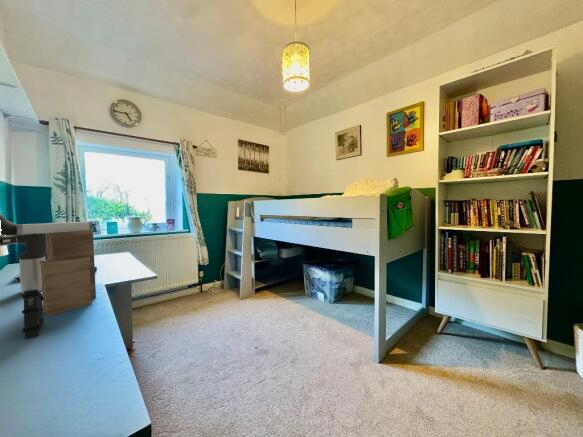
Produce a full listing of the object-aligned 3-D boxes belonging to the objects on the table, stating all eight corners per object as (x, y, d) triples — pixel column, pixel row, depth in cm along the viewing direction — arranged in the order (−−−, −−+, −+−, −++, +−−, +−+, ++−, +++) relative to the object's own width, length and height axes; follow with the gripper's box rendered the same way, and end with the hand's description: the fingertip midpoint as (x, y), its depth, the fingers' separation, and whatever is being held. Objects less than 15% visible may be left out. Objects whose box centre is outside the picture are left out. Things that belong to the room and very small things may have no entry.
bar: (16, 234, 100) (16, 224, 100) (90, 229, 119) (89, 221, 119) (18, 234, 97) (17, 224, 97) (92, 230, 117) (92, 221, 117)
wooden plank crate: (35, 304, 108) (31, 232, 106) (88, 292, 122) (85, 229, 121) (46, 316, 95) (41, 235, 94) (103, 301, 110) (99, 231, 109)
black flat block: (20, 339, 76) (22, 291, 80) (29, 341, 85) (30, 298, 89) (38, 335, 78) (38, 288, 82) (44, 337, 87) (44, 295, 92)
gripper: (-24, 234, 84) (38, 226, 99) (-40, 235, 90) (22, 227, 104) (-19, 255, 85) (42, 244, 100) (-35, 254, 91) (26, 244, 105)
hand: (32, 235), depth 102 cm, fingers open, 8 cm apart
